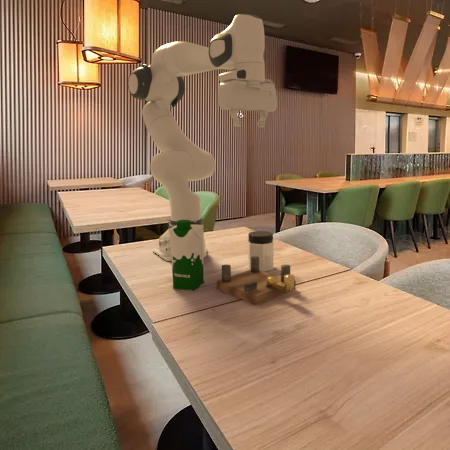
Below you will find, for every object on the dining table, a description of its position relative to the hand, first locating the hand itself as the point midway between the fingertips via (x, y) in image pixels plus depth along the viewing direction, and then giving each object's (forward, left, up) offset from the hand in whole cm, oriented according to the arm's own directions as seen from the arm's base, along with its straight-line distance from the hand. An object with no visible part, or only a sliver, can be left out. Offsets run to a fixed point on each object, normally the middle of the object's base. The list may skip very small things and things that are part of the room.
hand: (249, 126), depth 112 cm
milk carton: (-8, -18, -46) cm, 50 cm away
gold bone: (+17, -6, -43) cm, 47 cm away
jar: (-4, +9, -46) cm, 47 cm away
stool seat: (+8, -6, -46) cm, 47 cm away
